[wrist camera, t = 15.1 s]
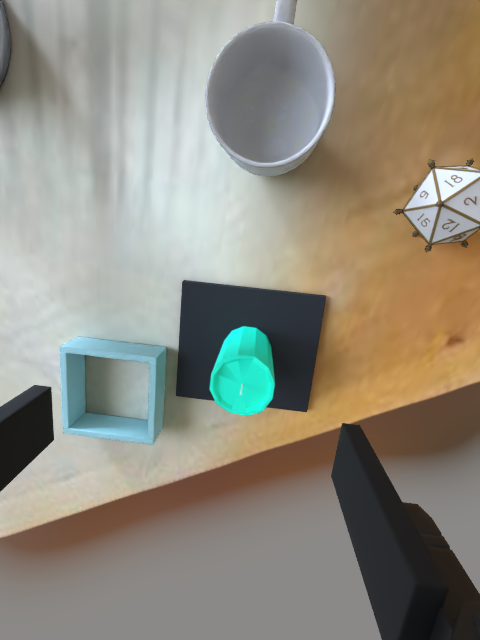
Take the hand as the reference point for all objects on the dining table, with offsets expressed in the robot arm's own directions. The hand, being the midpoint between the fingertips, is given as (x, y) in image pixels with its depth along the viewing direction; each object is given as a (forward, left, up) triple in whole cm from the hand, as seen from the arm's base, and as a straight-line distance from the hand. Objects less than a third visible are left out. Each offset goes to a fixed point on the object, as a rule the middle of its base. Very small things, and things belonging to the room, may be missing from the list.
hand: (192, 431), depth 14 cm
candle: (+2, -4, -24) cm, 25 cm away
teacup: (+2, +22, -25) cm, 34 cm away
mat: (+2, -4, -25) cm, 25 cm away
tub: (-14, -11, -25) cm, 31 cm away
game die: (+20, +14, -25) cm, 35 cm away
